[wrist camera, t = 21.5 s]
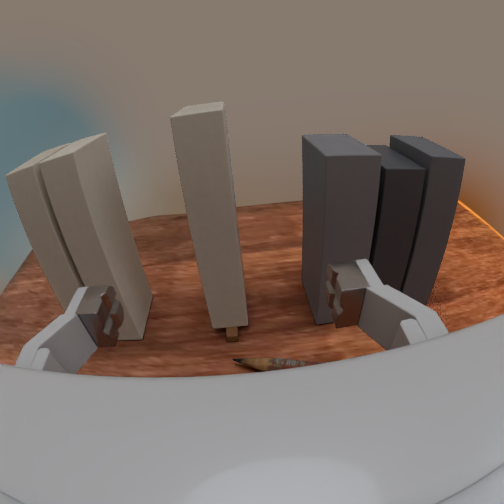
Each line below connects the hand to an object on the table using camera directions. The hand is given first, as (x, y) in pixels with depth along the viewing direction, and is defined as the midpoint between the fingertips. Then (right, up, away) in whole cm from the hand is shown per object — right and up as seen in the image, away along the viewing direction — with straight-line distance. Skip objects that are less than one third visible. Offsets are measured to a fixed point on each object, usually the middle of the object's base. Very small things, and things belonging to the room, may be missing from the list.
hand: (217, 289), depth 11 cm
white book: (0, -2, +11) cm, 12 cm away
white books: (-6, -4, +12) cm, 14 cm away
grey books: (+10, -2, +12) cm, 16 cm away
